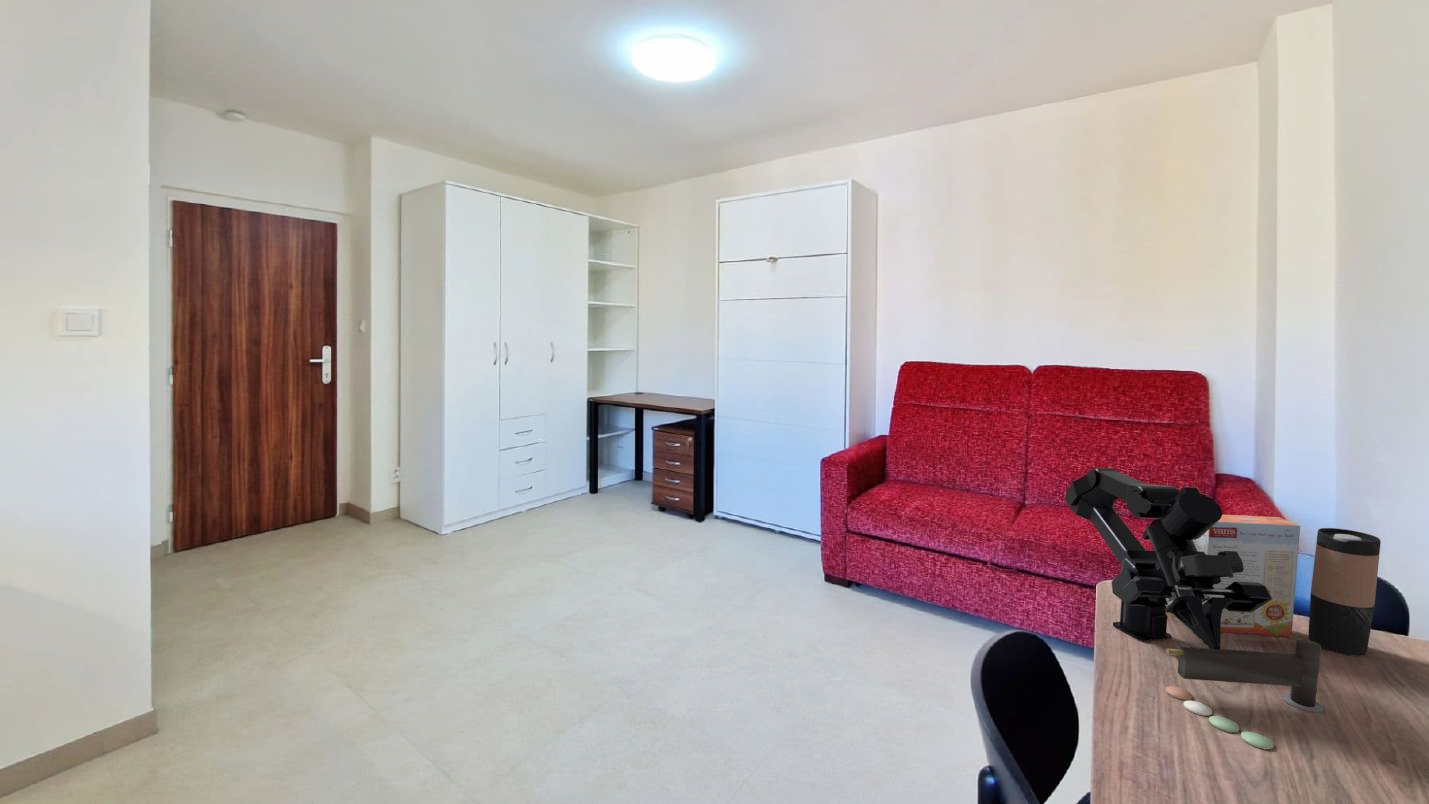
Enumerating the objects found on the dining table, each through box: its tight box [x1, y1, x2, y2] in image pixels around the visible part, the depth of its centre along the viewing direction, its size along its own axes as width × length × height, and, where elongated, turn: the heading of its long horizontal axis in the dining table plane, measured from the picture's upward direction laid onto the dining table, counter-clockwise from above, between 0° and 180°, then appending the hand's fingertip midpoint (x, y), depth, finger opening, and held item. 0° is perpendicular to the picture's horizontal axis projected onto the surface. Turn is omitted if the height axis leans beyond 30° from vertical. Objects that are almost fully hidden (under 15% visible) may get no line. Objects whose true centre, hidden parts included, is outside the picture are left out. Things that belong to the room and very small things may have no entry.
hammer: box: [1165, 638, 1322, 707], centre depth 89 cm, size 3×20×9 cm, turn 82°
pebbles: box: [1164, 685, 1325, 749], centre depth 87 cm, size 14×20×1 cm
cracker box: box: [1193, 514, 1301, 638], centre depth 110 cm, size 14×6×21 cm, turn 77°
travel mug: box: [1308, 527, 1381, 657], centre depth 104 cm, size 8×8×20 cm
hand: (1215, 649), depth 90 cm, fingers closed, pressing on hammer
